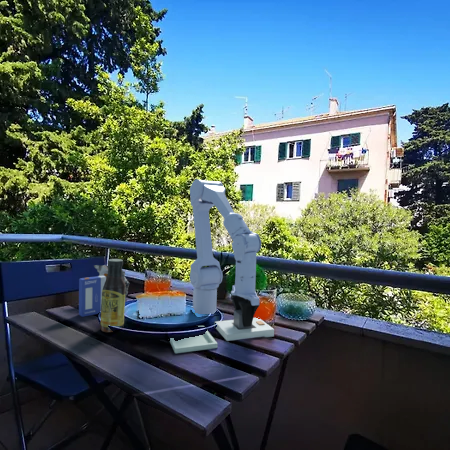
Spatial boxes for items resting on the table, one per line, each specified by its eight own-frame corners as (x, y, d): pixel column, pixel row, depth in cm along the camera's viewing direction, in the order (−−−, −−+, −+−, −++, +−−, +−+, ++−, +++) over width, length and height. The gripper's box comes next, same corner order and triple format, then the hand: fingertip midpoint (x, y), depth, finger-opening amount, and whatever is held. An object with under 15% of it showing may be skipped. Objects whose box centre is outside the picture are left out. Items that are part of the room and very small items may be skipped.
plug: (233, 327, 90) (233, 310, 90) (246, 325, 92) (246, 308, 92) (238, 332, 87) (239, 314, 86) (251, 330, 88) (252, 313, 88)
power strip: (214, 328, 92) (214, 320, 92) (257, 323, 97) (258, 316, 96) (226, 342, 82) (227, 333, 82) (273, 336, 87) (274, 328, 87)
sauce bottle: (95, 332, 86) (96, 260, 85) (109, 324, 92) (110, 257, 91) (116, 335, 85) (117, 262, 84) (129, 327, 91) (130, 258, 90)
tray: (166, 334, 86) (166, 329, 86) (203, 330, 90) (203, 325, 90) (175, 354, 74) (175, 348, 74) (217, 349, 78) (217, 343, 78)
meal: (89, 301, 114) (89, 265, 113) (98, 298, 118) (99, 264, 117) (120, 308, 107) (121, 270, 107) (129, 305, 111) (130, 268, 111)
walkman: (82, 317, 98) (82, 278, 97) (78, 314, 100) (79, 277, 99) (106, 311, 103) (107, 275, 103) (103, 309, 105) (103, 274, 105)
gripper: (223, 271, 94) (222, 316, 95) (242, 282, 80) (240, 334, 81) (244, 270, 96) (243, 314, 97) (267, 281, 83) (265, 331, 84)
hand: (243, 323), depth 89 cm, fingers open, 4 cm apart
